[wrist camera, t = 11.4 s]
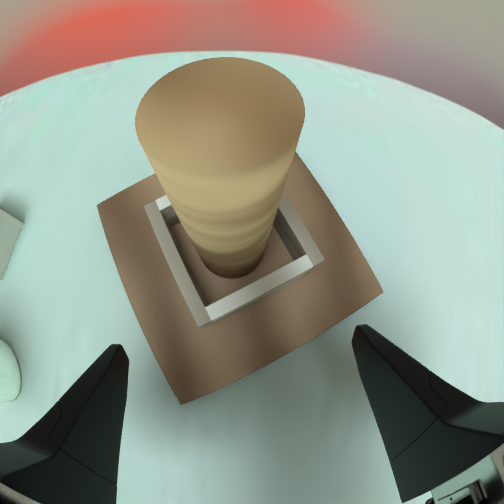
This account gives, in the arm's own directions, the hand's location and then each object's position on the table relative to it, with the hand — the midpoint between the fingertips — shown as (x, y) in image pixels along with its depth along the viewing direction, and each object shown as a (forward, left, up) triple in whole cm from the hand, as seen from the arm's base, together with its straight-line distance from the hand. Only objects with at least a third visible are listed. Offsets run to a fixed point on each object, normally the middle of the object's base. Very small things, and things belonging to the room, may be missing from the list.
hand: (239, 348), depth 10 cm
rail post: (+2, +6, -8) cm, 10 cm away
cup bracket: (+2, +6, -9) cm, 11 cm away
